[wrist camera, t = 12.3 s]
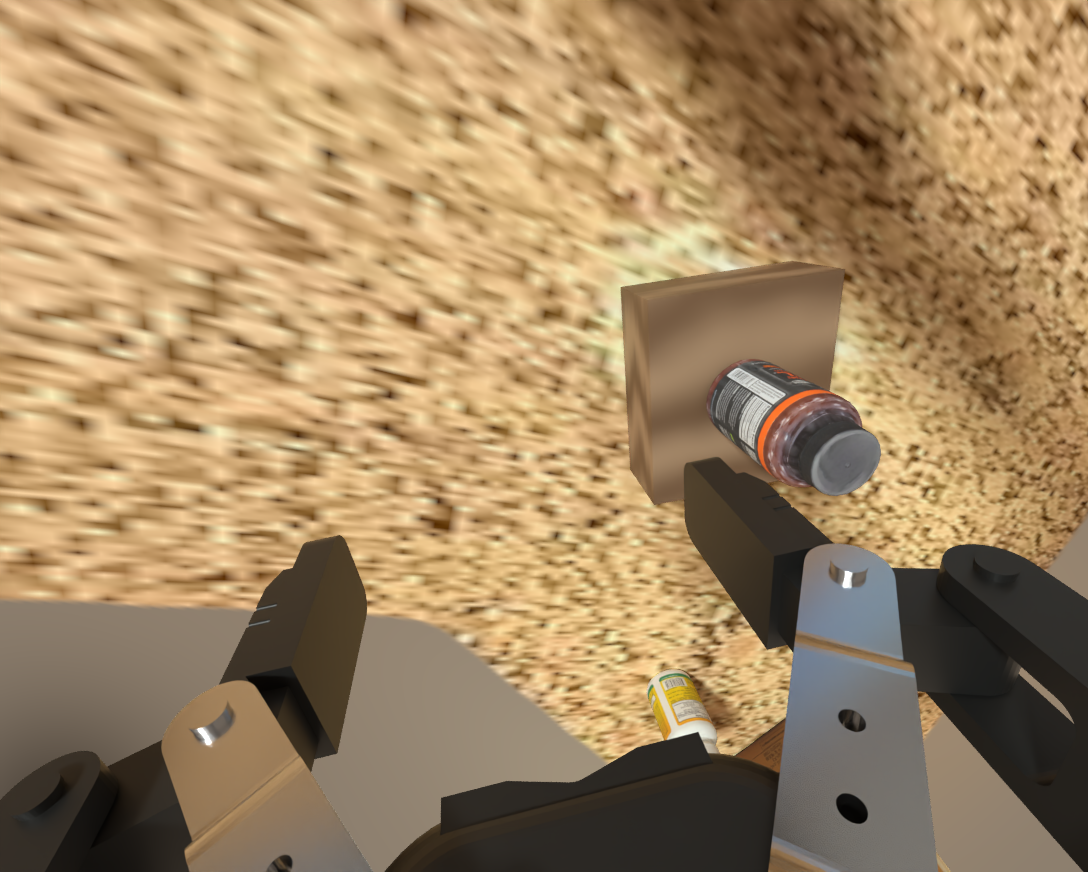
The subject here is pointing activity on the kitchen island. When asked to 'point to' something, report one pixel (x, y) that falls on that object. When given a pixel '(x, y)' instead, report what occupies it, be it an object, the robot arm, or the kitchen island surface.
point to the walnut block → (716, 357)
